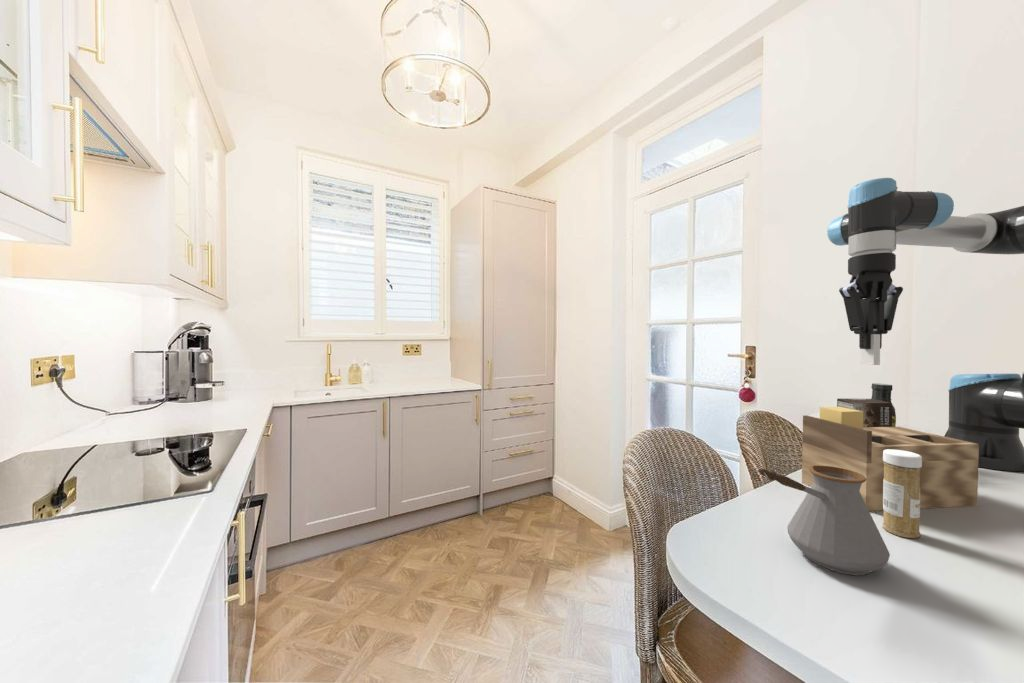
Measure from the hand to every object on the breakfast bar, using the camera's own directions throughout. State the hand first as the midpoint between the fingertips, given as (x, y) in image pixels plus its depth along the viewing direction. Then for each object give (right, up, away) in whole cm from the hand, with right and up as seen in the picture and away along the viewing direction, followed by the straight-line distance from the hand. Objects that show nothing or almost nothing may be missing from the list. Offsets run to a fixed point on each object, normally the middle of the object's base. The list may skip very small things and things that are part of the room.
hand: (870, 364), depth 83 cm
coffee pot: (-35, -27, -28) cm, 52 cm away
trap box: (0, -27, -3) cm, 27 cm away
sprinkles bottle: (-13, -27, -19) cm, 35 cm away
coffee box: (+14, -27, +17) cm, 35 cm away
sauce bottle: (+22, -27, +21) cm, 40 cm away
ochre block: (-7, -15, 0) cm, 16 cm away
